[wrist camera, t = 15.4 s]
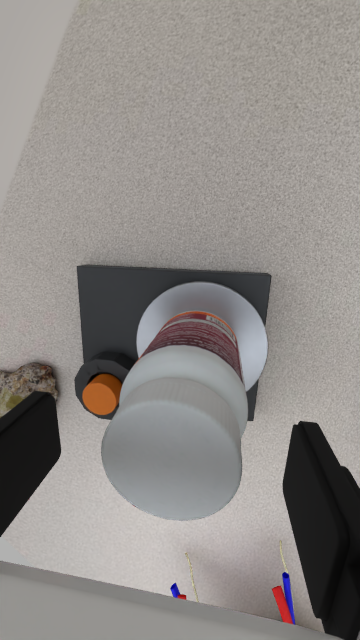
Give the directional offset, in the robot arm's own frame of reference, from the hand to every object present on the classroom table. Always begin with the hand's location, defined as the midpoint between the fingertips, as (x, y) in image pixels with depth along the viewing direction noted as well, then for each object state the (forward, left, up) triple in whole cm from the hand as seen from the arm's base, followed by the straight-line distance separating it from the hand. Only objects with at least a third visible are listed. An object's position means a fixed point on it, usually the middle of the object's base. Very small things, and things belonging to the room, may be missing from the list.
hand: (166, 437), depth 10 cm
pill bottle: (0, 0, -11) cm, 11 cm away
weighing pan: (0, 0, -11) cm, 11 cm away
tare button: (-8, -5, -11) cm, 15 cm away
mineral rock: (-19, -9, -15) cm, 25 cm away
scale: (-3, -1, -14) cm, 15 cm away
